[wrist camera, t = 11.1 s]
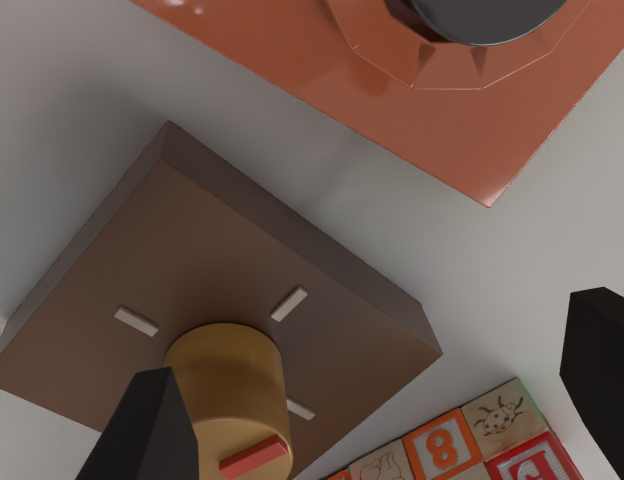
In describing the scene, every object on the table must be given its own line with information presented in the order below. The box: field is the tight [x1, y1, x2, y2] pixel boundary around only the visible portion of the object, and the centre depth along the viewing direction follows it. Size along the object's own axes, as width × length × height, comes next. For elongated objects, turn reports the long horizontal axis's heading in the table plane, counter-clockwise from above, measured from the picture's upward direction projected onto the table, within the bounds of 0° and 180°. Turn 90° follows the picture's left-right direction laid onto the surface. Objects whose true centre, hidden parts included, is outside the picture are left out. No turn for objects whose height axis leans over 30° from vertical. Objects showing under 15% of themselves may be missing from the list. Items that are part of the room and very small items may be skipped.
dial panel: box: [0, 120, 443, 480], centre depth 21 cm, size 12×10×3 cm
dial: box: [162, 323, 293, 480], centre depth 18 cm, size 4×4×4 cm
